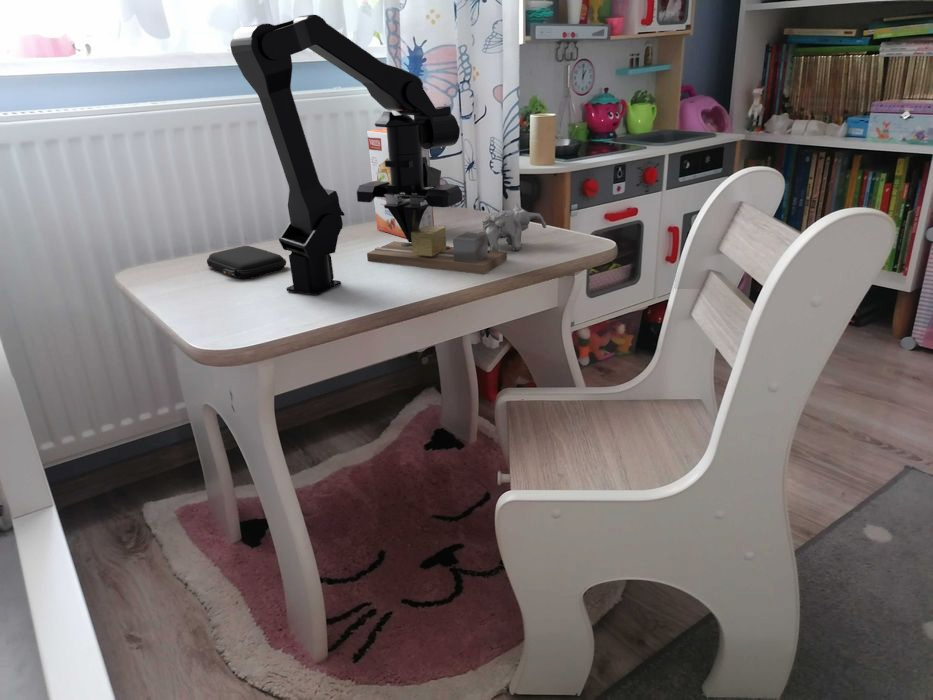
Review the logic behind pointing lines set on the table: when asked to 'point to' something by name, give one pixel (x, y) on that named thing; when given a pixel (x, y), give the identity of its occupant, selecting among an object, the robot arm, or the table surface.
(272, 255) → the carrying case or bag
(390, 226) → the cracker box
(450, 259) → the board
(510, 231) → the elephant statuette
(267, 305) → the table surface
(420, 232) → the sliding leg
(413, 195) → the robot arm
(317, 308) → the table surface
